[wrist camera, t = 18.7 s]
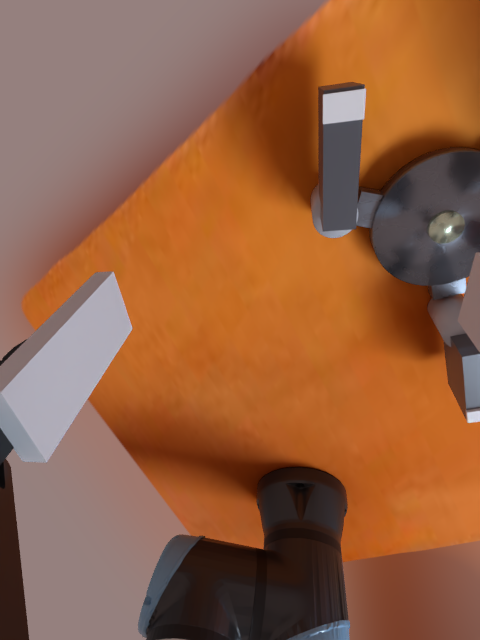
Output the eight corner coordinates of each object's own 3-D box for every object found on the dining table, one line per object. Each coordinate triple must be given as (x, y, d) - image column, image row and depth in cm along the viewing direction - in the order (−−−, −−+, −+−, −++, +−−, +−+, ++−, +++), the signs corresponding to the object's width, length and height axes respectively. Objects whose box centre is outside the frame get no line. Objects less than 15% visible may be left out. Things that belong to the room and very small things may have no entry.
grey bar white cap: (349, 216, 34) (363, 252, 27) (310, 219, 34) (315, 255, 28) (355, 79, 28) (376, 83, 21) (308, 86, 28) (313, 92, 22)
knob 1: (425, 295, 38) (454, 345, 31) (463, 286, 36) (502, 336, 30) (435, 369, 43) (461, 425, 36) (468, 363, 42) (502, 419, 35)
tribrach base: (430, 304, 38) (438, 318, 36) (331, 214, 34) (333, 224, 32) (571, 206, 31) (591, 216, 29) (467, 77, 27) (482, 77, 25)
